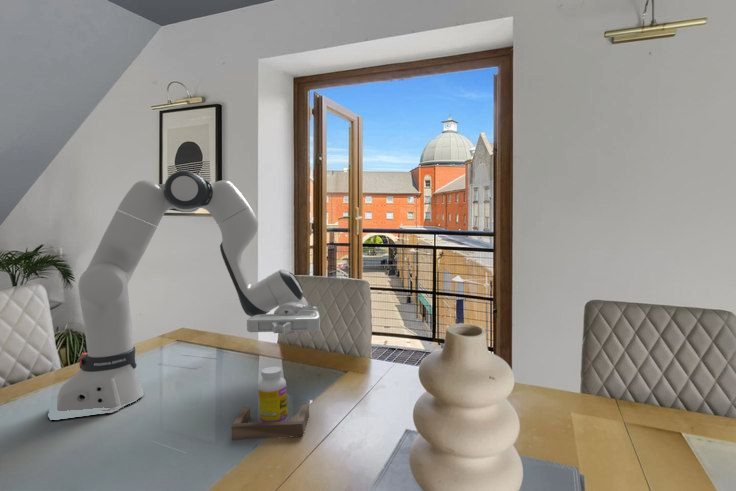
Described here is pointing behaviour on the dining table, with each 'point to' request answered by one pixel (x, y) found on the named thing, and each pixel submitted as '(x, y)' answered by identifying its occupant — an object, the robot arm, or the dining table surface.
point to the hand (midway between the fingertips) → (278, 330)
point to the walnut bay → (268, 426)
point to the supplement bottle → (272, 396)
